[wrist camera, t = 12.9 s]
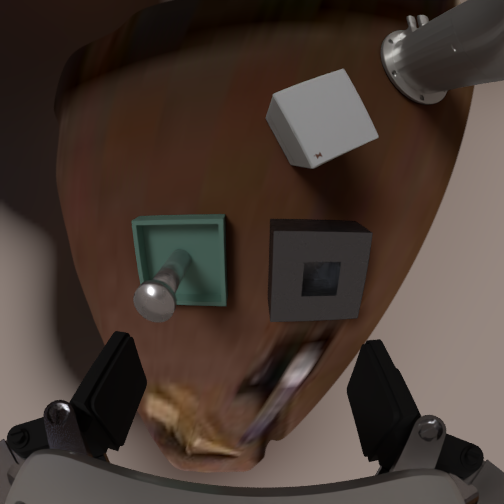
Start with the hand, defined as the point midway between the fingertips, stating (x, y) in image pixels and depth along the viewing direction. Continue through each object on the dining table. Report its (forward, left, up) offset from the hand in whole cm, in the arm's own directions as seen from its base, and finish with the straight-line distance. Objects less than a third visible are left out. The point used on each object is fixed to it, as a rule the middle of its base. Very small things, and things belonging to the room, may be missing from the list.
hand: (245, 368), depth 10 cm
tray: (+6, -9, -27) cm, 29 cm away
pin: (+6, -10, -27) cm, 29 cm away
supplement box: (-12, +7, -28) cm, 31 cm away
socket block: (+6, +9, -27) cm, 29 cm away
